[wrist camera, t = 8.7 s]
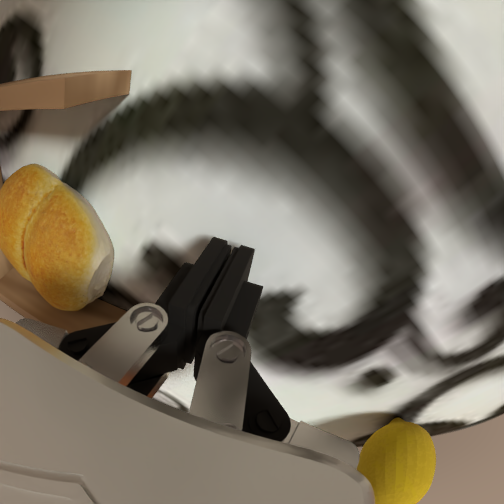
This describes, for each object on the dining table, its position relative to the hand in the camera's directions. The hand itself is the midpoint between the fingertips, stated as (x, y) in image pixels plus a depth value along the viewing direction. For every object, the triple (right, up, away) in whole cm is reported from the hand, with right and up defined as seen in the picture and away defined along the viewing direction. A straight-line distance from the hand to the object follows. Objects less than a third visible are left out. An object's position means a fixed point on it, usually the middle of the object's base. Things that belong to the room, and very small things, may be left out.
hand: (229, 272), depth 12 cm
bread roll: (-10, +2, +3) cm, 11 cm away
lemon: (+11, -11, +5) cm, 17 cm away
